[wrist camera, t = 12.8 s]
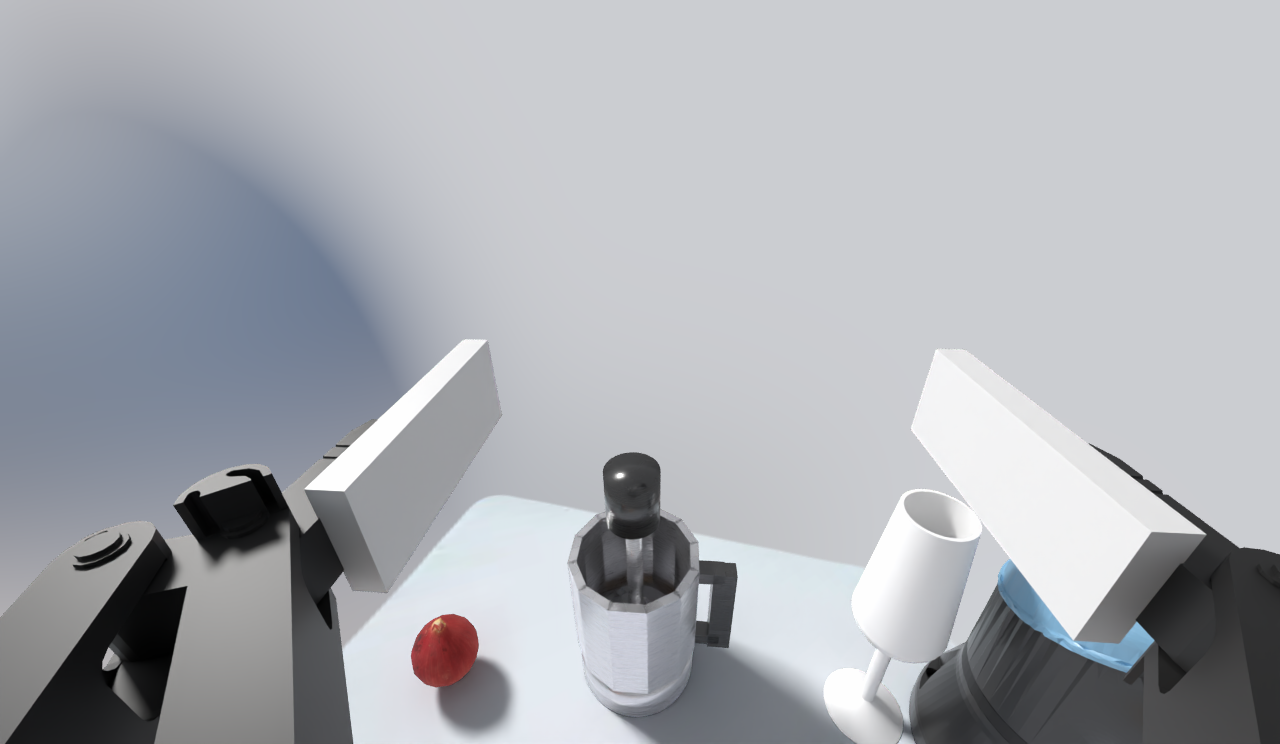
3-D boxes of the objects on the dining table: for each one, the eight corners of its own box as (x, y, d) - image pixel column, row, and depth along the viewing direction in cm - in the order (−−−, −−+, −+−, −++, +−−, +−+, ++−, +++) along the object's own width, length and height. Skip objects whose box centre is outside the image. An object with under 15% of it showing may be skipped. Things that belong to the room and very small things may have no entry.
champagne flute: (885, 770, 37) (985, 575, 26) (810, 704, 41) (867, 512, 30) (915, 707, 41) (1012, 514, 30) (843, 653, 45) (904, 467, 34)
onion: (414, 709, 42) (390, 658, 38) (431, 646, 47) (411, 596, 43) (478, 699, 42) (461, 648, 39) (488, 639, 47) (474, 589, 44)
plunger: (678, 592, 47) (684, 441, 38) (677, 674, 40) (684, 511, 31) (602, 587, 47) (589, 437, 38) (588, 666, 40) (568, 505, 31)
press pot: (721, 610, 50) (731, 509, 43) (730, 725, 40) (746, 620, 33) (593, 601, 51) (583, 502, 44) (572, 711, 41) (555, 607, 34)
